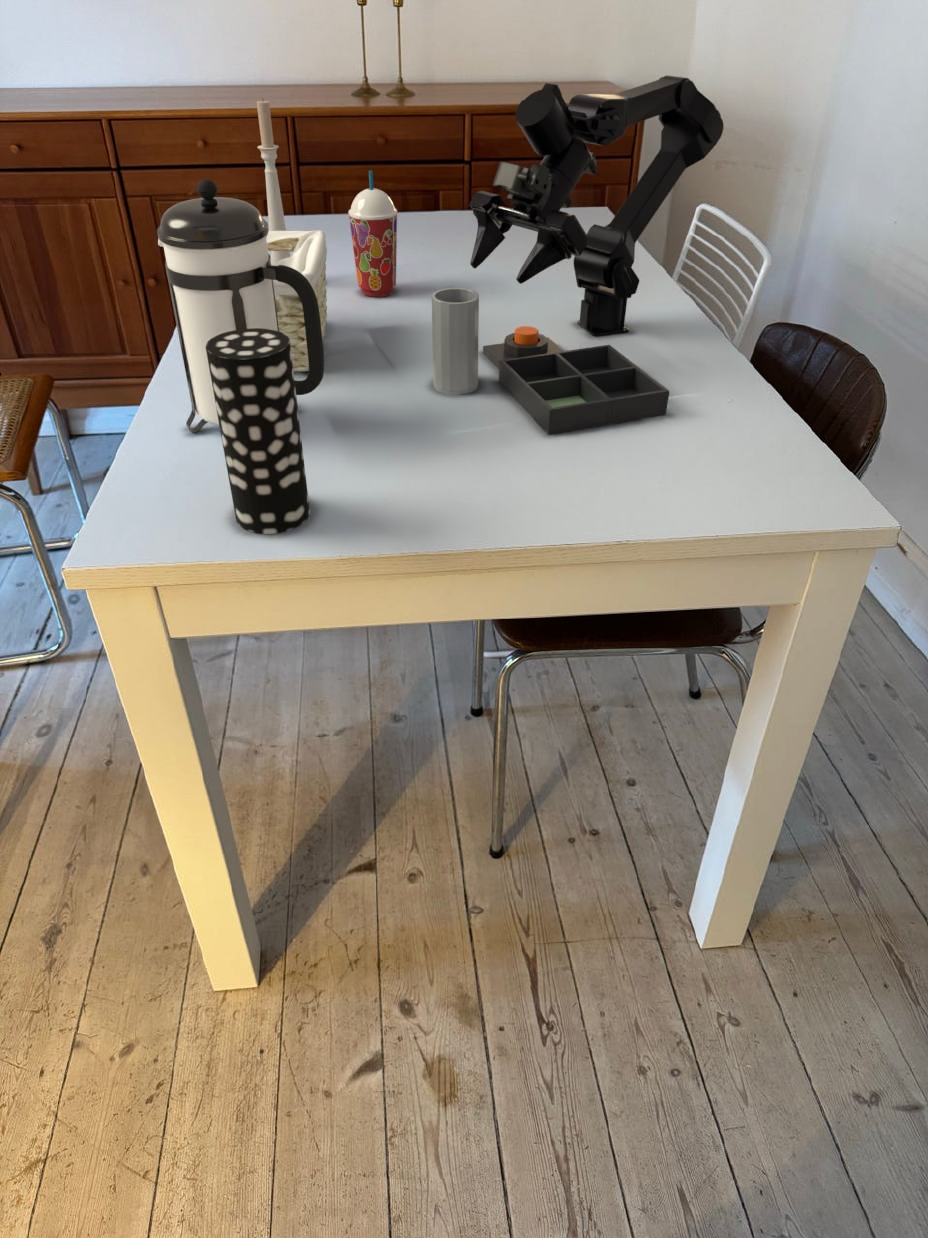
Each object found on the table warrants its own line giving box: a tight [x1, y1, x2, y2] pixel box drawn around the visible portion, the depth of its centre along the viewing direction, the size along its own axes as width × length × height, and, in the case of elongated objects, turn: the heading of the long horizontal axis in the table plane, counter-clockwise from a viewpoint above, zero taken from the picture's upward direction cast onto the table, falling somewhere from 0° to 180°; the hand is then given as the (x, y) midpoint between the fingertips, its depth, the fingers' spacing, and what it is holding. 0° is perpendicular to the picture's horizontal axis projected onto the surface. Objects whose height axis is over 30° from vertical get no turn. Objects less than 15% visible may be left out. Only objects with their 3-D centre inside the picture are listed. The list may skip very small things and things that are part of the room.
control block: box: [482, 332, 565, 370], centre depth 139 cm, size 11×8×3 cm
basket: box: [267, 229, 328, 372], centre depth 139 cm, size 24×16×15 cm
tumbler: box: [431, 287, 480, 395], centre depth 128 cm, size 6×6×13 cm
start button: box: [514, 325, 540, 345], centre depth 138 cm, size 4×4×2 cm
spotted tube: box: [206, 328, 311, 535], centre depth 98 cm, size 8×8×20 cm
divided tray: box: [498, 344, 670, 435], centre depth 128 cm, size 18×18×4 cm
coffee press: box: [156, 178, 325, 434], centre depth 114 cm, size 17×16×30 cm
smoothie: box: [348, 170, 398, 298], centre depth 158 cm, size 8×8×20 cm
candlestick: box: [256, 98, 292, 263], centre depth 159 cm, size 13×13×30 cm
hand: (495, 273), depth 128 cm, fingers open, 9 cm apart
